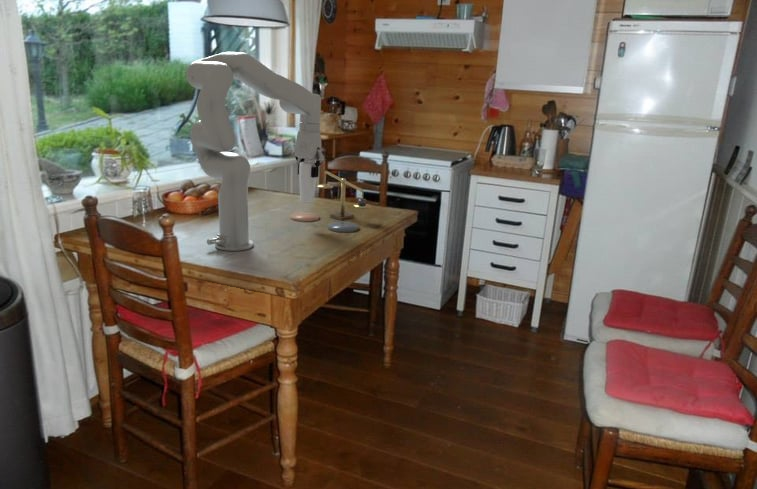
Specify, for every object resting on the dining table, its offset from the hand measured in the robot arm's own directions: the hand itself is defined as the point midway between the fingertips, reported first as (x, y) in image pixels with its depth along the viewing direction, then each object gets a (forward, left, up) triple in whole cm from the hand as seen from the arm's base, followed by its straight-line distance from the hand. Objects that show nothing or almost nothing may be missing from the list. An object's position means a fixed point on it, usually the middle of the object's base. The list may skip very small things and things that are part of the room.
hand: (307, 175), depth 210 cm
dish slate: (+10, -10, -20) cm, 25 cm away
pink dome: (+9, +11, -20) cm, 25 cm away
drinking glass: (0, 0, -11) cm, 11 cm away
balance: (+22, +2, -20) cm, 30 cm away
